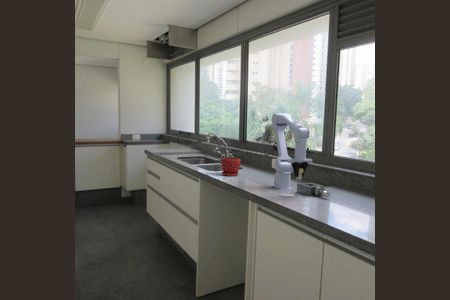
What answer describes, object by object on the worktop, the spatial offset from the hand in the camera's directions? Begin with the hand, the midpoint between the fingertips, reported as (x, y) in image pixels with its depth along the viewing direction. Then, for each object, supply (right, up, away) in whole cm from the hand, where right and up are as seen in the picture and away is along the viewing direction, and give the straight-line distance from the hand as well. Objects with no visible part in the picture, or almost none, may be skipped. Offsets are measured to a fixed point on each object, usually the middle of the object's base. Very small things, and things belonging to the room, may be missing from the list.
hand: (299, 176), depth 167 cm
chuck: (+9, -10, 0) cm, 13 cm away
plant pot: (-35, -4, +55) cm, 66 cm away
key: (0, -3, 0) cm, 3 cm away
